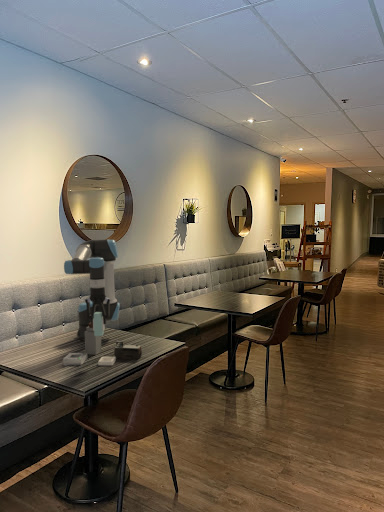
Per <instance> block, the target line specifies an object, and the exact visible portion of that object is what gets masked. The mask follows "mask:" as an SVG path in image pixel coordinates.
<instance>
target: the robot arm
mask: <svg viewBox="0 0 384 512" xmlns="http://www.w3.org/2000/svg"><path fill="white" fill-rule="evenodd" d="M118 257H119V254H118V246H117V242H116V240H115V239H89V240H87V241H83V242H82V243H80V244H79V245H78V246H77V248H76V249H75V254H74V255H73V257H72V259H69V260H65V261H64V263H63V269H64V274H66V275H80V274H81V275H82V274H83V275H85V274H86V275H88V274H89V287H90V288H89V290H90V294H89V295H90V296H89V297H88V298H86V299H84V302H83V303H80V304H79V305H78V306H77V307H78V311H77V312H78V328H77V331H76V332H77V333H76V339H77V340H80V341H85V331H87V329H86V328H87V327H88V326H89V323H90V322H91V324H93V331H94V313H95V312H102V316H103V318H102V331H104V332H105V327H106V326H105V325H106V324H107V321H109V322H111V321H117V320H118V319H119V314H120V302H118V299H117V298H116V295H115V294H116V293H115V292H116V291H115V270H114V269H115V268H114V263H115V262H116V260H117V259H116V258H118Z"/></svg>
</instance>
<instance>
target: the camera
mask: <svg viewBox="0 0 384 512" xmlns="http://www.w3.org/2000/svg"><path fill="white" fill-rule="evenodd" d="M142 351H143V350H142V346H141V345H138V344H136V345H135V344H134V345H133V344H125V345H124V340H116V341H115V346H114V350H113V357H116V359H121V360H122V359H124V360H139V359H141V357H142V353H143V352H142Z"/></svg>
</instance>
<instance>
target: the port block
mask: <svg viewBox="0 0 384 512" xmlns="http://www.w3.org/2000/svg"><path fill="white" fill-rule="evenodd" d="M87 360H88V354H87V353H85V352H82V353H80V352H69V353H68V354H67V355H66V356H65V357H63V358H62V366H69V365H70V366H72V365H73V366H74V365H75V366H77V365H78V366H79V365H80V366H81V365H83V364H84V363H85V362H86V361H87Z"/></svg>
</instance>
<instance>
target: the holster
mask: <svg viewBox="0 0 384 512" xmlns="http://www.w3.org/2000/svg"><path fill="white" fill-rule="evenodd" d="M116 360H117V358H116V357H115V356H101V357H100V358H99V360H98V362H97V363H98V364H97V365H98V366H113V365H114V364H115V362H116Z"/></svg>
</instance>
